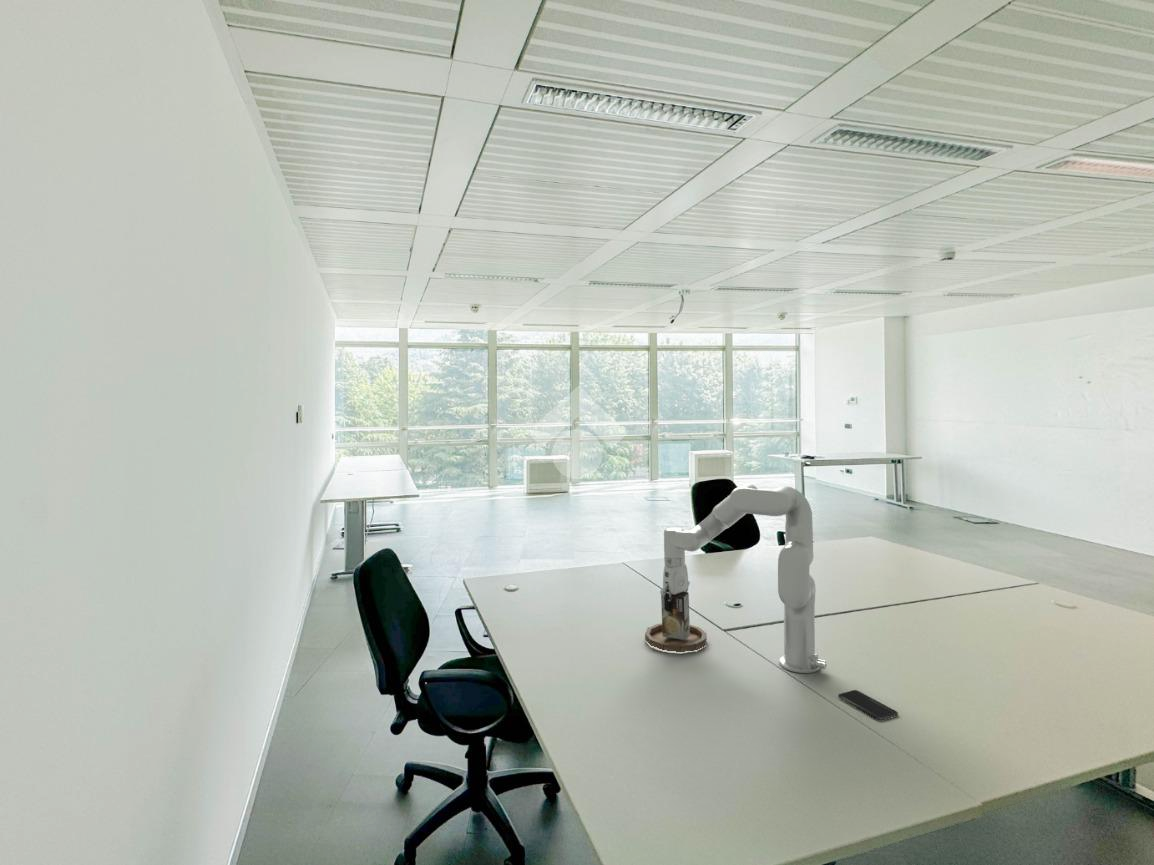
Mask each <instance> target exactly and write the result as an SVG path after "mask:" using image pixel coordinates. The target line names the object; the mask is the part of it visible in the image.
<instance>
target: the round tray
mask: <svg viewBox="0 0 1154 865" xmlns="http://www.w3.org/2000/svg"><path fill="white" fill-rule="evenodd" d="M645 640H646V641H647V642H648V643H649V644H650V645H651V646H654V647H657V648H659V649H662V650H667V651H676V652H685V651H694V650H698V649H700V648H702V647H704V646H705V645H707V642H706V640H707V632H706V631H704V630H703V629H702V628H701V627H699V626H696V625H692V624H690V635H689V637H688V638H687V639H686V640H682V639H675V638H669V637H663V633H662V623H657V624H654V625H652V626H650V627H647V629H646V632H644V641H645Z"/></svg>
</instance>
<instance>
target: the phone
mask: <svg viewBox="0 0 1154 865" xmlns="http://www.w3.org/2000/svg"><path fill="white" fill-rule="evenodd" d="M837 695H838V696H837V698H838V697H839V698H840V699H841V700H840V699H839V698H838V699H839V700H840V701H842V700H844V701H845V702H844V701H843V702H844V703H846V702H847V703H849V704H850V705H849V704H848V705H849V706H851V705H852V706H851V707H853V706H854V707H856V708H857V709H856V708H855V709H856V710H858V709H859V710H861V711H862V712H861V711H860V712H861V713H863V712H864V713H863V714H865V713H866V714H867V715H866V714H865V715H866V716H868V715H869V716H868V717H870V716H871V717H870V718H872V717H873V718H874V719H873V718H872V719H873V720H875V719H877V720H884V721H886V720H885V719H887V720H889V719H888V718H890V719H892V718H891V717H894V716H897V715H899V712H898V711H897V710H895V709H893V708H891V707H889V706H888V705H885V704H883V703H882V702H880V701H878V700H876V699H874V698H872V697H870V696H869V695H867V694H865V693H863V692H862V691H860V690H856V689H853V690H849V691H845V692H842V693H839V694H837ZM847 703H846V704H847ZM854 707H853V708H854ZM859 710H858V711H859ZM897 717H898V716H897ZM894 718H895V717H894ZM877 720H876V721H877Z"/></svg>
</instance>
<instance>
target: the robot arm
mask: <svg viewBox="0 0 1154 865" xmlns="http://www.w3.org/2000/svg"><path fill="white" fill-rule="evenodd" d="M747 514H749V515H750V514H751V515H758V516H759V515H760V516H769V517H782V516H785V528H784V529H785V543H784V546H783V547H782V549H781V550H780V551H779V554H778V559H777V594H778V597H779V599H780V601H781V602H782V604H784V606H783V633H784V634H783V636H784V637H783V643H784V644H783V645H784V651H783V652H784V654H783V655H781V657H780V658H779V665H780V666H781V667H782V668H784V669H785V670H787V671H790V672H793V673H798V674H799V673H800V674H812V673H815V672H817V671H819V670H820V669H822V670H826V669H827V660H825V659H821V658H819V654H818V653H817V652H816V650H815V649H816V646H815V645H816V643H815V637H816V636H815V631H816V630H815V612H816V611H815V610H816V608H815V607H816V606H815V604H816V583H815V579H814V578H813V577H812V575H810V566H811V564H812V562H813V560H814V533H813V532H814V531H813V530H814V529H813V512H812V508H811V505H810V502H809V501H808V499H807V498H806V497H805V495H804V494H803V493H802V492H800V491H799V490H798V489H796V488H794V487H791V486H787V485H781V486H777V487H776V488H773V489H759V488H758V487H757V486H755V485H753V484H750V483H746V484H742V485H740V486H737V487H735V488H734V489H733V490H732V491H731V493H730V494H729V495H727V497H725V498H724V499H723V500H722V501H720V502H719V503H718V504H716V505H715V506H714V507H713V509H712V510H711V512H710V513H709V514H708V515H707V516H706V517H705V518H704V519H703V520H701V522H699V523H698V524H697V525H695V526H694V527H692V528H689V529H687V530H684V529H683V528H682V527H678V526H671V527H667V528H665V529H664V531H663V553H664V555H663V556H664V560H663V561H664V567H663V572H662V573H663V575H662V576H663V577H662V588H661V589H660V591H659V594H660V596H661V595H662V597H663V599H664V600H665V611H669V612H672V611H673V602H672V601H671V600H672V596H673V595H675V594H678V593H681V592H688V590H689V587H690V584H691V582H690V581H689V573H688V567H687V564H686V551H687V552H697V551H698V550H699V549H702V547H705V546H706V545H707V544H708V543H710V541H713V539H714V538H716V537H717V536H719V535H720V534H721V533H722V532H724V531H725V530H726V529H729V528H730V527H732V526H733V525H735V523H737V522H738V521H739V520H740V519H742V518H743V517H744V516H746V515H747ZM669 591H670V592H669ZM668 594H670V595H669V597H668Z"/></svg>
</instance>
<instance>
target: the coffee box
mask: <svg viewBox="0 0 1154 865" xmlns="http://www.w3.org/2000/svg"><path fill="white" fill-rule="evenodd" d="M669 592H670V591H669ZM669 595H670V594H668V597H669ZM660 600H661V602H660V603H661V604H660V605H661V624H662V633H663V637H669V638H675V639H682V640H686V639H687V638H688V637H689V635H690V625H691V624H690V597H689V592H688V591H687V592H681V593H678V594H675V595H673V596H672V600H671V601H672V602H673V611H672V612H669V611H665V600H664V599H663V597H662V595H661V594H660Z"/></svg>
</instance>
